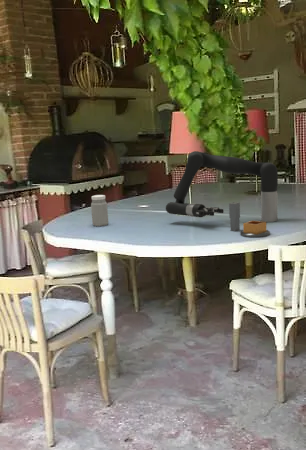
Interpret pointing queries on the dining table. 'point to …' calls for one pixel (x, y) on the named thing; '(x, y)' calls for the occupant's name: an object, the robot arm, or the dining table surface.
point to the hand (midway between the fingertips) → (218, 212)
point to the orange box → (254, 229)
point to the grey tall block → (234, 216)
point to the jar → (99, 210)
